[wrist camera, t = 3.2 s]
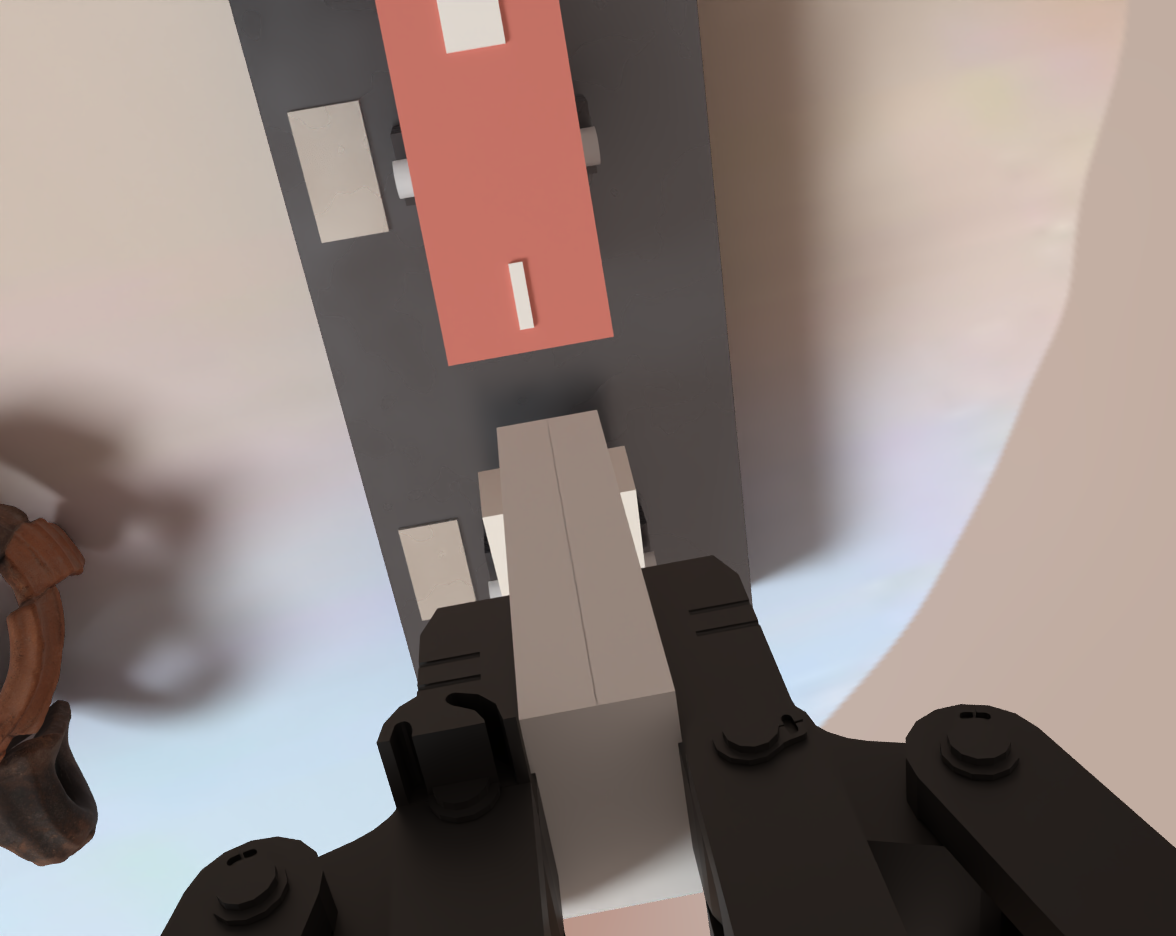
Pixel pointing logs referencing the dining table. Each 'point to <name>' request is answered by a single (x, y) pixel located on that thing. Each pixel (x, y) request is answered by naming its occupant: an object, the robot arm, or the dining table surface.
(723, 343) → the rocker switch panel
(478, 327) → the rocker
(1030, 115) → the dining table surface
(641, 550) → the rocker
